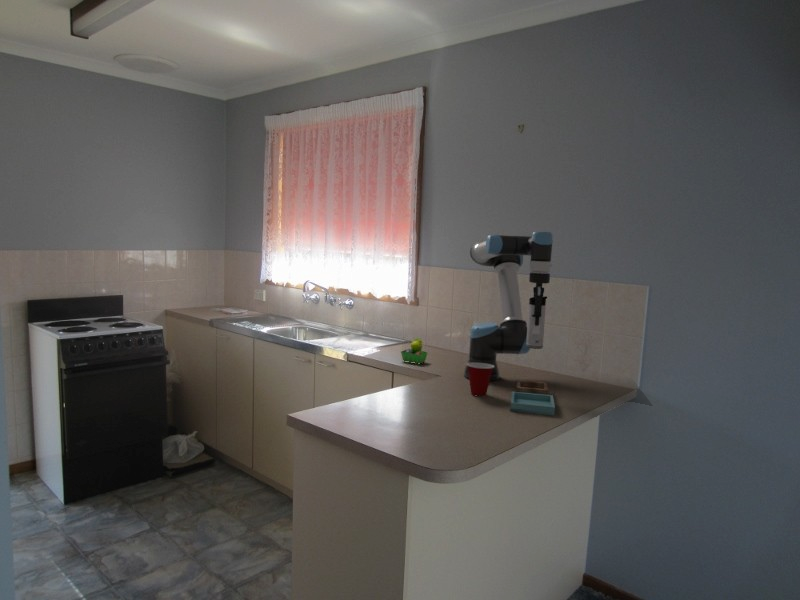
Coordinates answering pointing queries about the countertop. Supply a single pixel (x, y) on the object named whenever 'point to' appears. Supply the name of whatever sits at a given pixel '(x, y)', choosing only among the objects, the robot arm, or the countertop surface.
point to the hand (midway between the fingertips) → (535, 332)
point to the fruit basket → (415, 352)
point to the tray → (532, 403)
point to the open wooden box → (532, 387)
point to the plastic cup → (479, 377)
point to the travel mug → (532, 339)
